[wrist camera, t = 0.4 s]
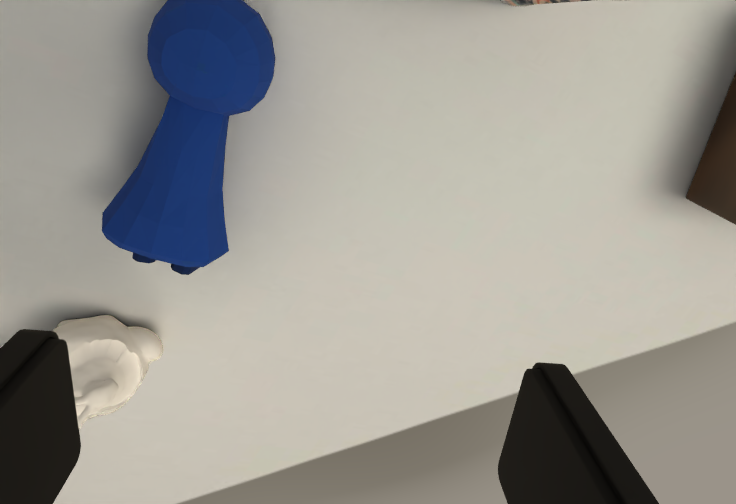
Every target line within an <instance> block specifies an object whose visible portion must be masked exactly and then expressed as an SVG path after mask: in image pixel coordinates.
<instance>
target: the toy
mask: <svg viewBox="0 0 736 504" xmlns="http://www.w3.org/2000/svg"><path fill="white" fill-rule="evenodd" d="M147 56H148V61H149V64H150V67H151V69H152V72H153V75H154V78H155V79H156V80H157V82H158V83H159V84H160V85H161V86H162V87H163V88H164V89H165V91H166V92H167V93H168V94H169V95H170V97H169V100H168V102H167V105H166V108H165V111H164V113H163V116H162V119H161V121H160V123H159V125H158V127H157V129H156V131H155V133H154V135H153V137H152V139H151V141H150V143H149V145H148V147H147V149H146V151H145V153H144V155H143V157H142V159H141V161H140V163H139V165H138V166H137V168H136V169H135V170H134V172H133V173H132V174H131V176H130V177H129V179H128V180H127V181H126V183H125V184H124V186H123V187H122V188H121V190H120V191H119V192H118V194H117V195H116V196H115V197H114V199H113V200H112V201H111V203H110V204H109V205H108V207H107V208H106V209H105V210H104V212H103V217H102V232H103V233H104V235H105V237H106V238H107V239H108V240H109V241H111V242H112V243H114V244H115V245H116V246H118V247H119V248H122V249H125V250H128V251H131V252H133V259H134V260H136V261H137V262H144V263H152V262H155V260H159V261H163V262H167V263H172V264H171V268H172V270H174V271H176V272H178V273H180V274H186V275H189V274H190V273H192V272H193V271H195V270H196V269H198V268H199V267H204V266H206V265H207V264H209V263H211V262H212V261H214V260H216V259H217V258H219V257H221V256H222V255H223V254H225V253H226V252H228V251H229V249H228V242H227V235H226V228H225V220H224V206H223V191H222V187H223V173H224V158H225V145H226V136H227V128H228V119H229V116H230V115H234V114H238V113H242V112H246V111H250V110H251V109H252V108H253V107H254V106H255V105H256V104H257V103H259V102H260V101H261V100H262V99H263V98H264V96H265V94H266V92H267V90H268V88H269V86H270V83H271V81H272V79H273V74H274V65H275V54H274V48H273V42H272V37H271V35H270V33H269V31H268V30H267V28H266V26H265V24H264V22H263V20H262V18H261V16H260V14H259V13H257V12H256V11H255V10H253V9H252V8H251V7H250V6H248V5H247V4H246V3H245V2H244V1H243V0H168V1H167V2H166V3H165V4H164V5H163V7H162V8H161V9H160V11H159V12H158V13H157V14H156V16H155V17H154V20H153V23H152V25H151V28H150V31H149V34H148V53H147Z"/></svg>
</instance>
